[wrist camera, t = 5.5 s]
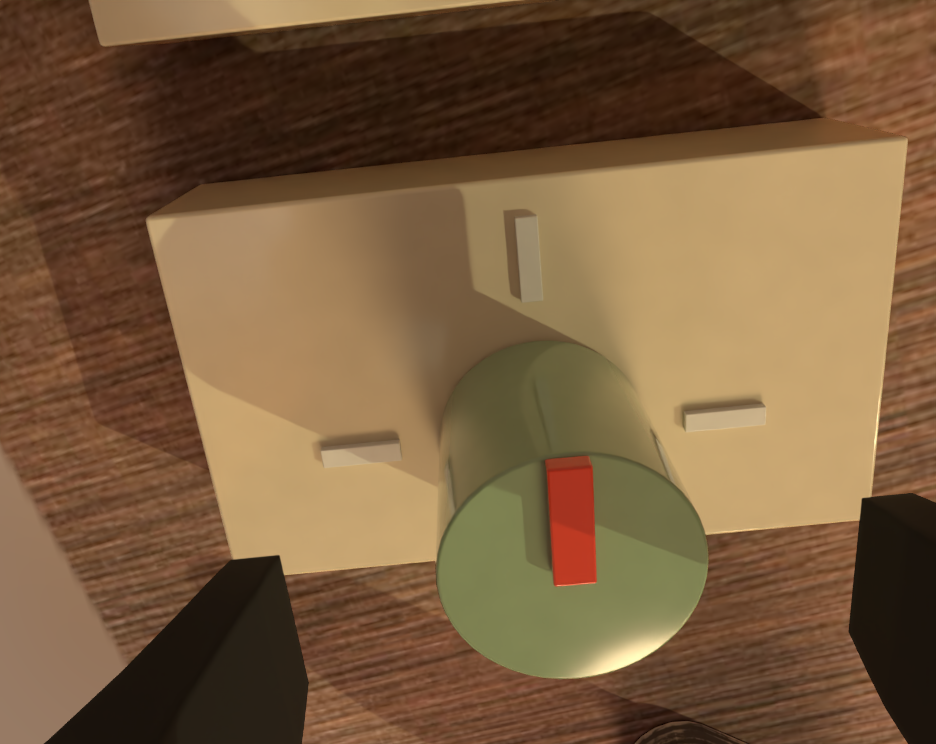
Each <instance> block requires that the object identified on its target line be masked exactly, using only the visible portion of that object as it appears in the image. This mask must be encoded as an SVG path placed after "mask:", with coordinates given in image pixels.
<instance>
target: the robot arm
mask: <svg viewBox="0 0 936 744" xmlns="http://www.w3.org/2000/svg"><path fill="white" fill-rule="evenodd" d="M849 633H850V636H851V638H852V640H853V642H854V644H855V646H856V649H857V651H858V653H859V655H860V657H861V659H862V662H863V664H864V666H865V668H866V670H867V672H868V674H869V676H870V678H871V680H872V682H873V684H874V686H875V688H876V690H877V692H878V694H879V696H880V698H881V700H882V702H883V704H884V706H885V708H886V710H887V711H888V713H889V714H890V716H891V718H892V719H893V721H894V722H895V724H896V726H897V727H898V729H899V730H900V732H901V733H902V735H903V736H904V738H905V740H906V741H907V743H908V744H936V503H935V502H933V501H930V500H928V499H926V498H923V497H921V496H918V495H916V494H913V493H908V494H898V495H887V496H877V497H867V498H862V502H861V512H860V522H859V532H858V542H857V552H856V562H855V572H854V582H853V592H852V603H851V613H850V623H849ZM308 684H309V682H308V678H307V674H306V669H305V665H304V660H303V656H302V652H301V647H300V643H299V638H298V634H297V630H296V625H295V621H294V616H293V612H292V608H291V603H290V599H289V595H288V590H287V586H286V581H285V577H284V573H283V568H282V564H281V559H280V555H274V556H264V557H254V558H243V559H233V560H230V561H229V562H228V563H227V564H226V565H225V566H224V567H223V568H222V569H221V570H220V571H219V572H218V573H217V574H216V575H215V576H214V577H213V578H212V579H211V580H210V581H209V582H208V583H207V584H206V585H205V586H204V587H203V588H202V589H201V591H200V592H199V593H198V594H197V595H196V596H195V597H194V598H193V599H192V600H191V601H190V602H189V603H188V604H187V605H186V606H185V607H184V608H183V609H182V610H181V612H180V613H179V614H178V615H177V616H176V617H175V618H174V619H173V620H172V621H171V622H170V623H169V624H168V625H167V626H166V627H165V628H164V629H163V630H162V631H161V632H160V633H159V634H158V635H157V636H156V637H155V638H154V639H153V640H152V641H151V642H150V643H149V644H148V645H147V646H146V647H145V648H144V649H143V650H142V651H141V653H140V654H139V655H138V656H137V657H136V658H135V659H134V660H133V661H132V662H131V663H130V664H129V665H128V666H127V667H126V668H125V669H124V670H123V671H122V672H121V673H120V674H119V675H118V676H116V677H115V678H114V679H113V680H112V681H111V682H110V683H109V684H108V685H107V686H106V687H105V688H104V689H103V690H102V691H100V692H99V693H98V694H97V695H96V696H95V697H94V698H93V699H92V700H91V701H90V702H89V703H88V704H86V705H85V706H84V707H83V708H82V709H81V710H80V711H79V712H78V713H77V714H76V715H75V716H74V717H73V718H71V719H70V721H68V722H67V723H66V724H65V725H64V726H63V727H62V728H61V729H60V730H59V731H58V732H57V733H55V734H54V735H53V736H52V737H51V738H50V739H49V740H48V741H47V742H45V743H44V744H302V737H303V730H304V721H305V712H306V702H307V693H308Z"/></svg>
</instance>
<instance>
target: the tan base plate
mask: <svg viewBox="0 0 936 744" xmlns="http://www.w3.org/2000/svg"><path fill="white" fill-rule="evenodd" d="M548 1H557V0H89V4H90V8H91V12H92V16H93V20H94V24H95V28H96V32H97V35H98V39H99V43H100V45H101V46H104V47H109V46H130V45H151V44H170V43H179V42H188V41H197V40H206V39H215V38H224V37H233V36H242V35H251V34H260V33H269V32H278V31H287V30H296V29H305V28H314V27H323V26H332V25H341V24H350V23H359V22H368V21H377V20H386V19H395V18H404V17H413V16H422V15H431V14H440V13H449V12H458V11H467V10H476V9H485V8H494V7H503V6H512V5H521V4H530V3H539V2H548Z"/></svg>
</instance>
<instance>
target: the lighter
mask: <svg viewBox="0 0 936 744" xmlns="http://www.w3.org/2000/svg"><path fill="white" fill-rule="evenodd" d="M635 744H747V743H744V742H742V741H740V740H737V739H735V738H733V737H730V736H728V735H726V734H723V733H721V732H719V731H716V730H714V729H712V728H709V727H707V726H705V725H702V724H699V723H694V722H690V721H681V722H670V723H667V724H664V725H661V726H658V727H656V728H654V729H652V730H651V731H649V732H647V733H646V734H644V735H643V736H641V737H640V738H639V739H638V741H637V742H636V743H635Z"/></svg>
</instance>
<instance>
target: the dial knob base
mask: <svg viewBox="0 0 936 744" xmlns="http://www.w3.org/2000/svg"><path fill="white" fill-rule="evenodd" d="M907 143H908V140H907V137H905V136H902V135H898V134H893V133H889V132H885V131H881V130H876V129H872V128H868V127H864V126H859V125H855V124H851V123H846V122H842V121H838V120H834V119H829V118H817V119H808V120H799V121H789V122H780V123H771V124H761V125H752V126H743V127H733V128H724V129H715V130H705V131H696V132H687V133H677V134H668V135H658V136H649V137H640V138H630V139H621V140H612V141H602V142H593V143H584V144H574V145H565V146H556V147H546V148H537V149H528V150H518V151H509V152H500V153H490V154H481V155H472V156H462V157H453V158H443V159H434V160H425V161H415V162H406V163H397V164H387V165H378V166H369V167H359V168H350V169H341V170H331V171H322V172H313V173H303V174H294V175H285V176H275V177H266V178H257V179H247V180H238V181H228V182H219V183H210V184H200V185H199V186H197V187H195V188H194V189H192V190H191V191H189V192H187V193H186V194H184V195H182V196H181V197H179V198H177V199H176V200H174V201H173V202H171V203H169V204H168V205H166V206H164V207H163V208H161V209H159V210H158V211H156V212H155V213H153V214H151V215H150V216H148V217H146V225H147V228H148V232H149V236H150V240H151V244H152V248H153V252H154V256H155V260H156V264H157V268H158V271H159V275H160V279H161V283H162V287H163V291H164V295H165V299H166V303H167V307H168V311H169V314H170V318H171V322H172V326H173V330H174V334H175V338H176V342H177V346H178V350H179V353H180V357H181V361H182V365H183V369H184V373H185V377H186V381H187V385H188V389H189V393H190V396H191V400H192V404H193V408H194V412H195V416H196V420H197V424H198V428H199V432H200V436H201V439H202V443H203V447H204V451H205V455H206V459H207V463H208V467H209V471H210V475H211V479H212V482H213V486H214V490H215V494H216V498H217V502H218V506H219V510H220V514H221V518H222V521H223V525H224V529H225V533H226V537H227V541H228V545H229V549H230V553H231V557H232V560H233V559H243V558H254V557H264V556H274V555H280V559H281V564H282V568H283V573H284V575H291V574H301V573H312V572H322V571H333V570H343V569H354V568H364V567H375V566H385V565H396V564H406V563H417V562H427V561H436V536H437V505H438V474H439V443H440V427H441V420H442V416H443V412H444V409H445V406H446V404H447V401H448V399H449V397H450V395H451V394H452V392H453V390H454V389H455V387H456V386H457V384H458V383H459V382H460V380H461V379H462V378H463V377H464V376H465V375H466V374H467V373H468V372H469V371H470V370H471V369H472V368H473V367H474V366H476V365H477V364H478V363H480V362H481V361H482V360H484V359H485V358H487V357H489V356H490V355H492V354H494V353H496V352H498V351H500V350H503V349H505V348H507V347H510V346H514V345H517V344H521V343H526V342H533V341H560V342H567V343H572V344H576V345H580V346H582V347H585V348H588V349H591V350H593V351H594V352H596V353H598V354H600V355H602V356H604V357H605V358H606V359H608V360H609V361H611V362H612V363H613V364H615V365H616V366H617V367H618V368H619V369H620V370H621V371H622V372H623V373H624V374H625V376H626V377H627V378H628V379H629V381H630V382H631V384H632V385H633V387H634V389H635V391H636V392H637V394H638V396H639V398H640V400H641V402H642V404H643V406H644V408H645V410H646V412H647V414H648V416H649V418H650V420H651V422H652V424H653V426H654V428H655V430H656V432H657V434H658V436H659V438H660V440H661V442H662V444H663V446H664V447H665V449H666V451H667V453H668V455H669V457H670V459H671V461H672V463H673V465H674V467H675V469H676V471H677V473H678V475H679V477H680V479H681V481H682V483H683V485H684V487H685V489H686V491H687V493H688V495H689V497H690V499H691V501H692V503H693V505H694V507H695V509H696V511H697V513H698V515H699V517H700V519H701V522H702V524H703V527H704V529H705V533H706V535H710V534H721V533H731V532H741V531H752V530H762V529H773V528H783V527H794V526H804V525H815V524H825V523H836V522H846V521H857V520H860V512H861V502H862V498H867V497H871V495H872V485H873V475H874V465H875V456H876V446H877V436H878V426H879V417H880V407H881V397H882V387H883V378H884V368H885V358H886V348H887V339H888V329H889V319H890V309H891V300H892V290H893V280H894V270H895V261H896V251H897V241H898V231H899V221H900V212H901V202H902V192H903V182H904V173H905V163H906V153H907Z"/></svg>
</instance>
